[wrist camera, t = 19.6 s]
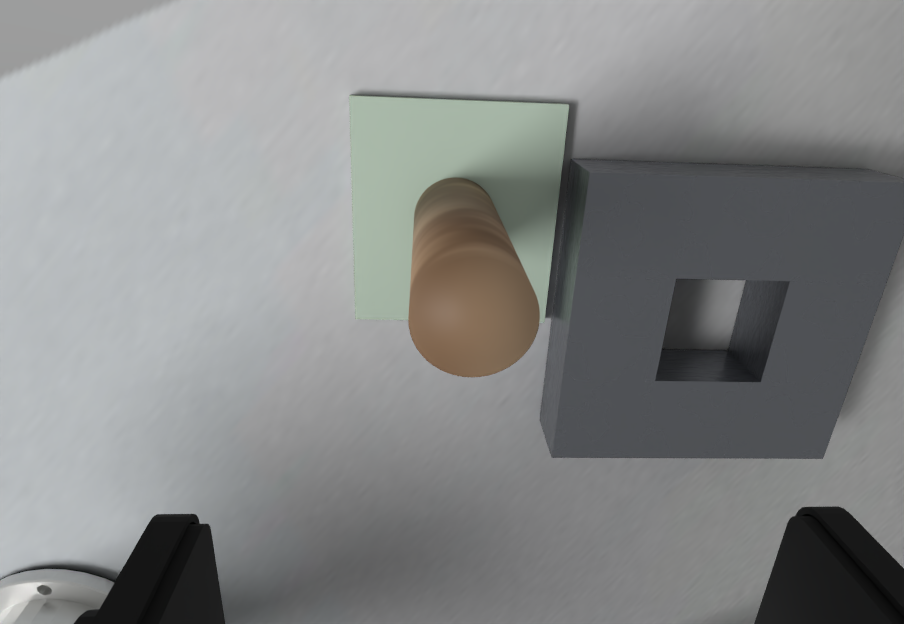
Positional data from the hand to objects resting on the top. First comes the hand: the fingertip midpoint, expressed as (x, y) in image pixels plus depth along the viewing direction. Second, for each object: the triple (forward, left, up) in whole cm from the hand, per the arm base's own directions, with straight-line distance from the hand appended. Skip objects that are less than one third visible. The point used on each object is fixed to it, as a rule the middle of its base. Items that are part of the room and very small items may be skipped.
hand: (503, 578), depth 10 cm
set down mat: (0, 0, -22) cm, 22 cm away
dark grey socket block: (-4, -13, -22) cm, 26 cm away
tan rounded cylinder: (0, 0, -21) cm, 21 cm away
